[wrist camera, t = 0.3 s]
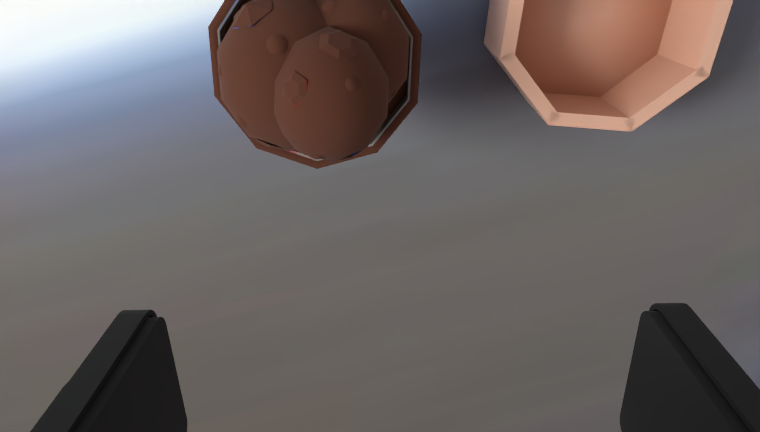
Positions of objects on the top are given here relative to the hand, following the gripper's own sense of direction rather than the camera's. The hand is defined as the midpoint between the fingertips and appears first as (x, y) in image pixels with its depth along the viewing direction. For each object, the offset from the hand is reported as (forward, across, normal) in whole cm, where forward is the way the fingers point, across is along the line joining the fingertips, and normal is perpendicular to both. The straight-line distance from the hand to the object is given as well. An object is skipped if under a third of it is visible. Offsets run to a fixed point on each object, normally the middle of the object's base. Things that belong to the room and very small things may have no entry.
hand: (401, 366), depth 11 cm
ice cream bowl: (+30, +4, -2) cm, 31 cm away
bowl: (+30, -12, -4) cm, 33 cm away
